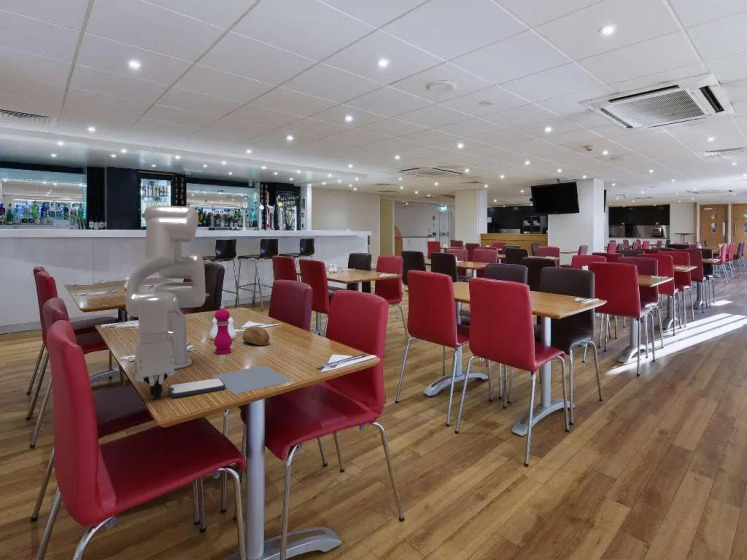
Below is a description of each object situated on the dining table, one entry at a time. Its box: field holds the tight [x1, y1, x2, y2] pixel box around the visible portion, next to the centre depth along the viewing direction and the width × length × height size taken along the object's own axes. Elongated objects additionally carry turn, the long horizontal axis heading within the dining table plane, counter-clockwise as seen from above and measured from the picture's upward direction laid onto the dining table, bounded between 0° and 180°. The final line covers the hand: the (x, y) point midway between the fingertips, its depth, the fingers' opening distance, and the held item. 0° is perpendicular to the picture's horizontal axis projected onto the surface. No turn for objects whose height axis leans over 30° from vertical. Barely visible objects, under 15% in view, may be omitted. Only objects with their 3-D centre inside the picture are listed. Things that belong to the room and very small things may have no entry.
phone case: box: [168, 378, 226, 398], centre depth 135 cm, size 9×2×16 cm
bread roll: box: [242, 325, 270, 346], centre depth 194 cm, size 10×15×8 cm, turn 54°
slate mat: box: [211, 365, 292, 395], centre depth 147 cm, size 22×20×1 cm
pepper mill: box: [213, 305, 233, 356], centre depth 178 cm, size 7×7×20 cm
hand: (156, 396), depth 128 cm, fingers closed
